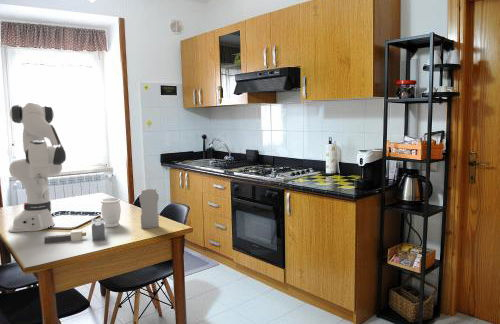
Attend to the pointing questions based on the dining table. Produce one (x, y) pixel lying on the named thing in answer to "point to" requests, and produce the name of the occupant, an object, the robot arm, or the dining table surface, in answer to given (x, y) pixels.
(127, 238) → the dining table surface
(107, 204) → the jar
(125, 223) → the dining table surface
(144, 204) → the tall pale column
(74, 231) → the plug
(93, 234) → the block
